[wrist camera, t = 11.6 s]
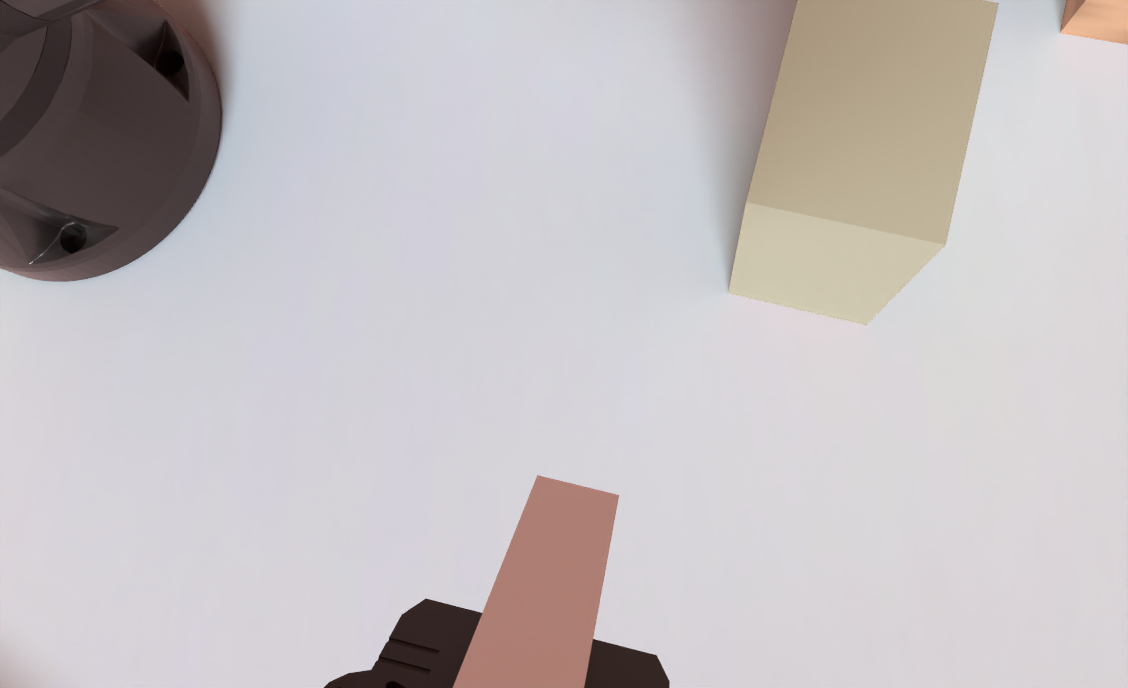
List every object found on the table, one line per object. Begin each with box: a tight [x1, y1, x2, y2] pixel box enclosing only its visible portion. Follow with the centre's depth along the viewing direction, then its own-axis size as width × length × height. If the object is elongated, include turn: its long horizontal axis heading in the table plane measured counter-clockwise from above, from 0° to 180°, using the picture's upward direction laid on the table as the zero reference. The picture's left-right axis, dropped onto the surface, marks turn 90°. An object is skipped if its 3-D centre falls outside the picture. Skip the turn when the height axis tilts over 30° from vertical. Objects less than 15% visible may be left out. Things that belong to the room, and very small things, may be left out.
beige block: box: [728, 0, 999, 325], centre depth 33 cm, size 6×8×12 cm
